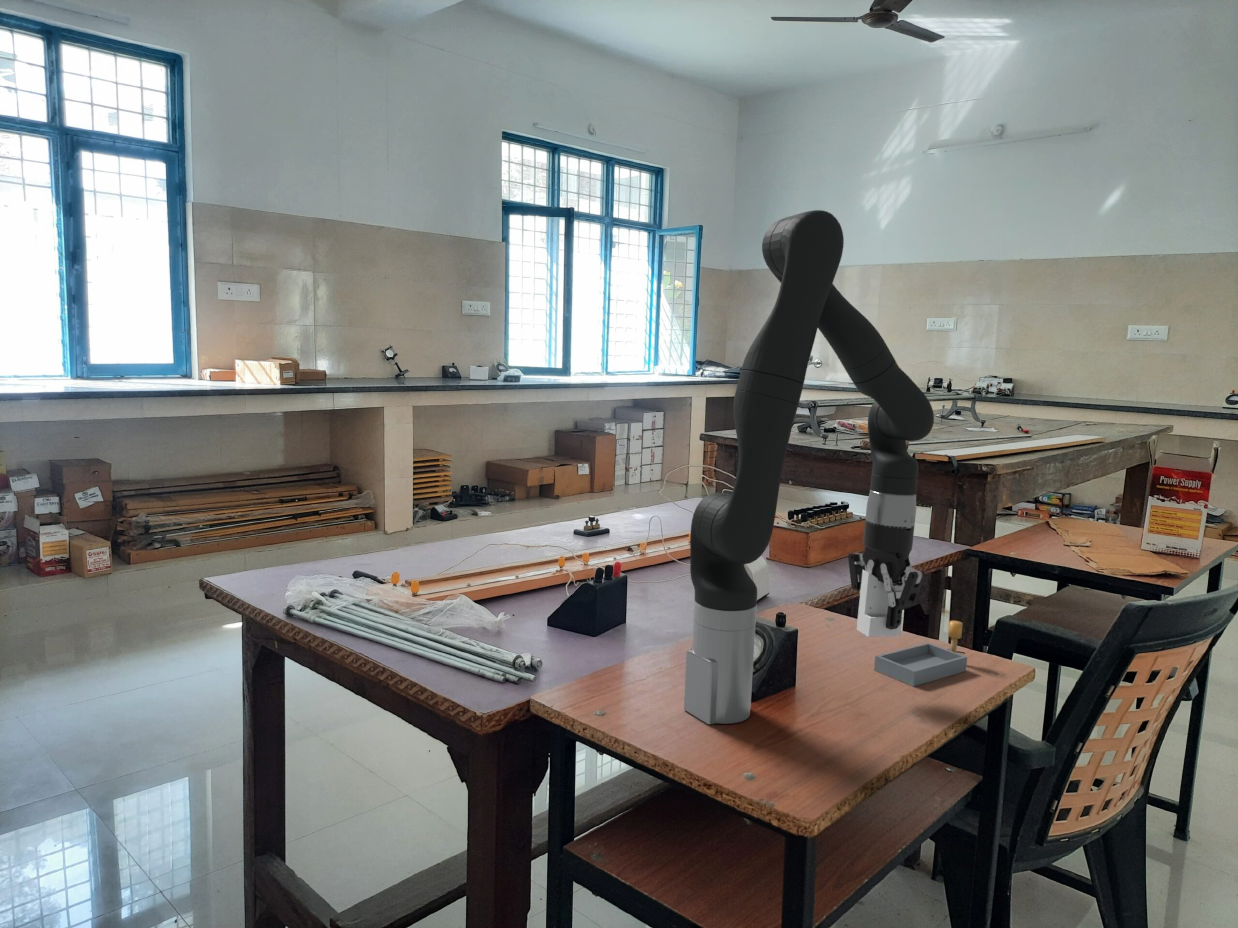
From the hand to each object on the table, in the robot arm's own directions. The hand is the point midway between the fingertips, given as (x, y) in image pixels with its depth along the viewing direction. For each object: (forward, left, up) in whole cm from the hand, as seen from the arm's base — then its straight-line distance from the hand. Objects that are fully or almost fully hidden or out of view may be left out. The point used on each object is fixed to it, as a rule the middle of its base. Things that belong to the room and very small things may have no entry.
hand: (879, 622), depth 139 cm
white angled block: (0, 0, -2) cm, 2 cm away
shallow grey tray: (+16, +2, -12) cm, 20 cm away
